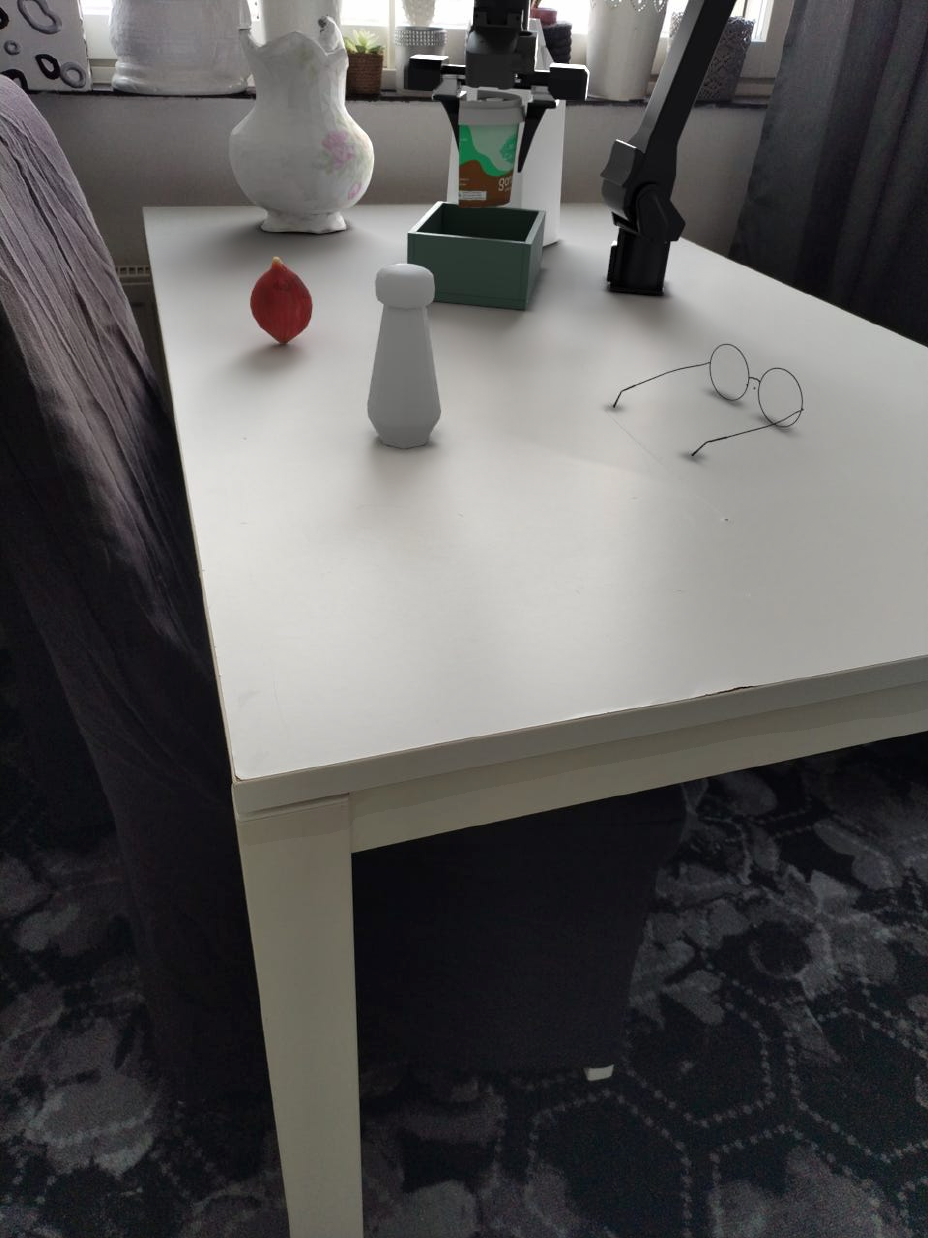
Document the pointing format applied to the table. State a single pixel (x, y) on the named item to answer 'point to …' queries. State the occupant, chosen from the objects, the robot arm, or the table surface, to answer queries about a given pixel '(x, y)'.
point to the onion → (281, 303)
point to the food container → (488, 148)
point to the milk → (530, 154)
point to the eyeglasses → (729, 399)
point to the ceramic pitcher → (300, 132)
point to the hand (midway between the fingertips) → (491, 170)
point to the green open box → (479, 253)
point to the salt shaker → (404, 359)
